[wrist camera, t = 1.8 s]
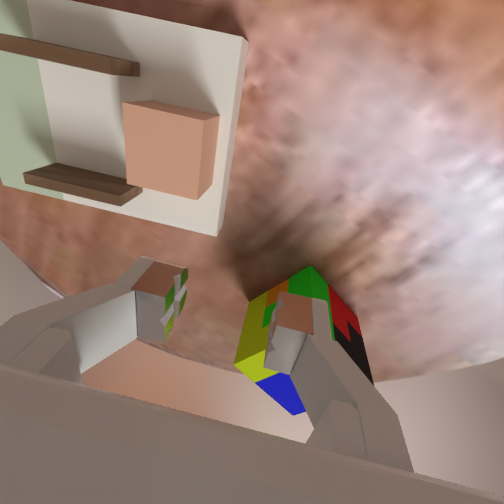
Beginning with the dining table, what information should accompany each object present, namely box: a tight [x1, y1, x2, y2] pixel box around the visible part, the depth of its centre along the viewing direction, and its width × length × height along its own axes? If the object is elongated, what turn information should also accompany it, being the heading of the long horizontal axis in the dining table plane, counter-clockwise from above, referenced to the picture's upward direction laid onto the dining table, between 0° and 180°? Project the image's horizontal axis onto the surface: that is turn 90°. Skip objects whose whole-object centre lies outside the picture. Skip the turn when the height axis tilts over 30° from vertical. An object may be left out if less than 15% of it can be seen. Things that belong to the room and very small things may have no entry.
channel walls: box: [0, 33, 143, 207], centre depth 23 cm, size 11×9×4 cm
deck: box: [0, 0, 249, 236], centre depth 27 cm, size 17×31×3 cm, turn 80°
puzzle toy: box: [234, 265, 374, 415], centre depth 32 cm, size 10×10×10 cm
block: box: [122, 100, 220, 200], centre depth 23 cm, size 6×6×4 cm
